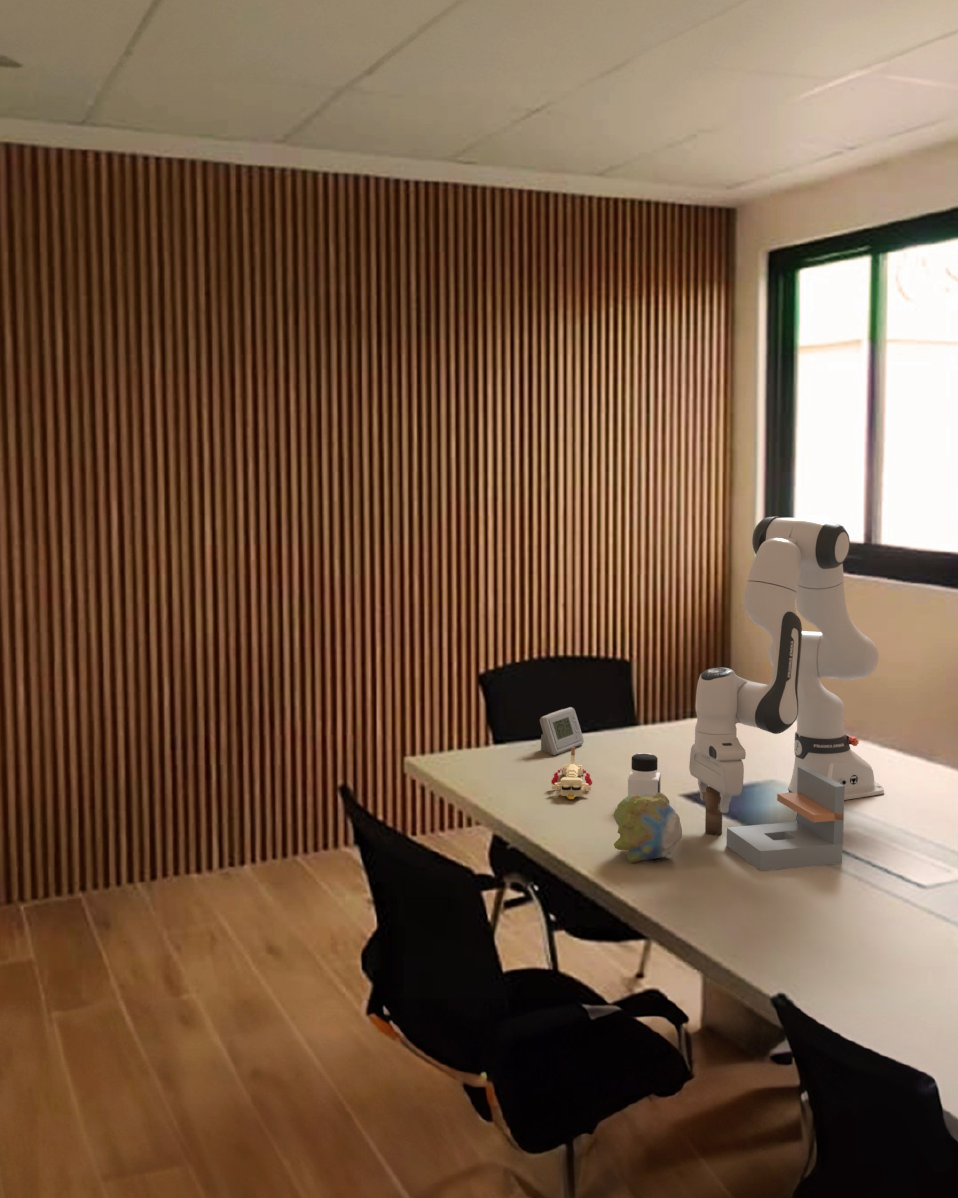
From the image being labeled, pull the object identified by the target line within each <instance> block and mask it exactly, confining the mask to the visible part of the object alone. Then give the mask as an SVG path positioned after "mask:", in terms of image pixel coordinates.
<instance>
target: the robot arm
mask: <svg viewBox="0 0 958 1198" xmlns="http://www.w3.org/2000/svg"><path fill="white" fill-rule="evenodd" d="M751 539H752V540H751V541H752V548H753V552H754V554H755V556H754V558H753V562H752V564H751V567H750V569H749V572H748V576H747V577H748V578H747V580H746V581H747V582H746V584H745V588H744V593H743V599H742V600H743V603H742V604H743V609H744V612H745V614H746V615H747V617H748V618H749V619H750V620H751V621H752V622H753V623H754V625H756V626H757V627H759V628H761V629H762V630H763V631H765V632H766V633H767V634H768V635H769V637H770V638H771V640H770V642H769V645H768V649H767V657H768V660H769V663H770V665H771V667H772V671H771V680H770V682H769V683H768V684H765V683H762V682H756V681H753V680H748V679H746V678H743V677H740V676H738V675H737V674H736V673H735V671H734V670H733V669H731V668H728V667H719V666H718V667H712V668H708V669H706V670H704V671H703V672H702V673H700V674H699V676H698V677H699V678H698V680H697V686H696V691H695V713H696V724H695V729H694V744H692V745H691V748H690V753H689V766H688V767H689V772H690V775H691V776H692V777H694V778H696V779H697V785H698V790H699V792H700V795H699V796H700V797H699V798H700V800H701V801H703V802H706V787H708V786H710V787H712V788H713V789H715V790H717V791H718V792H720V797H721V801H720V803H718V810H719V811H720V812H722V814H723V813H724V814H727V813H728V812H729V809H730V808H729V807H730V803H731V801H732V799H733V797H738V796H739V797H740V795H741V794H742V792H743V788H744V777H745V776H744V774H745V773H744V772H745V769H744V768H745V767H744V766H745V765H744V763H743V760H745V759H746V753H747V752H746V749H745V747H743V745H742V744H741V742H740V740H739V737H737V729H738V728H737V726H736V725H737V724H740V725H744V726H748V727H753V728H757V729H759V730H762V731H765V732H767V733H771V734H773V735H778V734H779V735H780V734H781V733H784V732H785V731H787V730H788V729H790V727H792V726H793V724H794V723H795V722H796V731H795V733H794V745H793V746H794V749H793V750H794V751H793V752H794V756H795V757H794V764H793V770H792V774H791V779H790V782H789V785H788V788H787V789H788V790H789V791H790V793H792V792H797V779H798V767H804V766H807V767H809V768H811V769H813V770H814V771H816V772H818V773H820V774H822V775H824V776H826V777H828V778H830V779H832V780H834V781H836V782H841V783H842V785H843V786H845V789H844V801H845V800H846V801H847V800H851V799H853V800H854V799H859V798H864V797H871V796H872V797H873V796H877V795H878V796H879V795H883V794H884V793H885V790H884V787H883V786H882V785H881V784H880V783H877V782H876V781H875V775H874V770H873V768H872V766H871V765H870V764H869V763H868V762H867V761H866V760H865V759H863V758H862V757H861V756H859V754H857V752H855V751H854V750H852V749H851V746H850V745H852V746H853V747H857V746H858V744H860V740H859V738H858V737H855V736H852V735H851V736H850V735H847V734H846V733H845V714H846V712H845V708H846V707H845V705H844V702H843V700H842V698H840V697H839V696H838V695H836V694H835V693H833V692H831V691H830V690H828V689H827V688H826V687H824V685H823V684H822V681H821V678H823V679H835V680H846V681H850V680H859V679H867V678H869V677H870V676H871V675H872V674H873V673H874V671H875V670H876V669H877V667H878V664H879V652H878V651H879V650H878V649H877V646H876V643H874V641H873V640H872V639H871V638H870V637H869V636H867V635H866V634H864V633H862V631H861V630H860V629H859V628H858V627H857V626H856V625H855V623H854V622H853V620H852V618H851V617H850V615H849V612H848V609H847V603H846V595H845V579H844V576H845V575H844V565H843V563H844V562H845V561H846V559H847V557H848V555H849V552H850V547H851V546H850V544H851V543H850V542H851V541H850V535H849V533H848V531H847V530H846V528H845V527H844V526H843V525H841V524H839V523H836V522H834V521H833V522H832V521H827V522H826V521H823V520H819V519H814V518H809V517H800V518H799V517H780V516H768V517H764V518H762V519H761V520H760V521H759V522H758V523H757V524H756V526H755V528H754V529H753V534H752V538H751ZM797 612H798V614H799V615H800V617H801V618H802V619H803V620H804V621H806V622H807V623H810V624H811V625H813V626H814V627H816V628H817V629H818V631H813V630H812V631H811V630H803V627H802V621H801V619H800V617H799V616H798V615H797Z"/></svg>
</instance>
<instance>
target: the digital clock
mask: <svg viewBox="0 0 958 1198" xmlns="http://www.w3.org/2000/svg"><path fill="white" fill-rule="evenodd" d="M578 719H579V718H578V716H577V713H576V710H575V708H574V707H572V706H569V707H567V708H566V707H565V708H561V709H559V710H556V711H553V712H550V713H547V714H546V715H543V716H541V717H540V718H539V723H540V727H541V730H542V734H541V735H540V736H541V737H540V751H541V752H546V753H549V754H550V755H552V756H556V755H562V754H564V753H566V752H569V751H571V747H575V749H576V748H577V747H579V746H582V745H583V744H584V742H585V741H584V735H583V733H582V730H581V725H580V723H579V720H578Z"/></svg>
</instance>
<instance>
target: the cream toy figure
mask: <svg viewBox="0 0 958 1198" xmlns="http://www.w3.org/2000/svg"><path fill="white" fill-rule="evenodd" d="M570 752H571V753H570V757H571V758H570V763H569V764H564V765H563V767H562V768H559V769H557V771H555V772H554V773H553V777H552V779H551V782H550V783H551V784H552V785H551V789H552V790H554V791H555V792H557V794H558V795H560V796H562V797H566V798H567V799H568V800H574V799H575V798H576V797H581V796H585V795H586V794H585V792H589V791H591V790H592V785H593V780H592V778H591V775H590V774H589V773H590V772H587V770H586V769H584V768H583V765H582V764H576V763H575V761H576V760H575V759H576V748H575V747H571V750H570ZM559 773H561V774H562V775H563V776H564V777H561V778H560V776H559ZM584 774H585V776H584V781H585V782H583V778H581V776H583V775H584ZM579 776H580V777H579ZM559 780H560V782H559ZM583 791H585V792H583Z"/></svg>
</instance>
